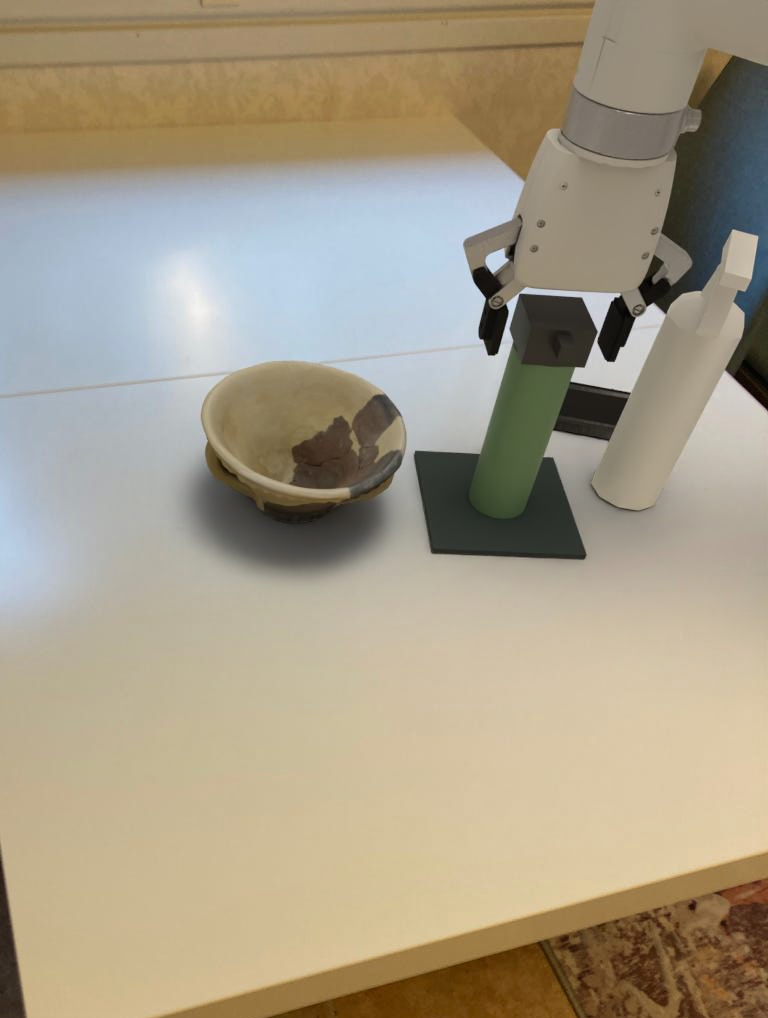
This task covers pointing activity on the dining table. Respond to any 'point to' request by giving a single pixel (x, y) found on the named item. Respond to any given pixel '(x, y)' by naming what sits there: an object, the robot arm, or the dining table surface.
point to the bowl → (302, 438)
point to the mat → (471, 532)
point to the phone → (591, 410)
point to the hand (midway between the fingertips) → (547, 349)
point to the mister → (530, 399)
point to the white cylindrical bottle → (676, 382)
